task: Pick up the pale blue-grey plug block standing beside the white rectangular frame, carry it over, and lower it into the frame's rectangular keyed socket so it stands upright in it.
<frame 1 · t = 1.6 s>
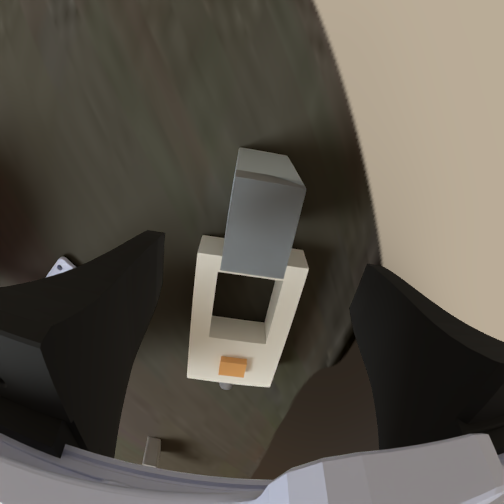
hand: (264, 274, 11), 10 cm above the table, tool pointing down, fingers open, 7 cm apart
plug: (256, 185, 20), on the table
lighter: (154, 447, 37), on the table
white rectangular frame: (239, 310, 25), on the table
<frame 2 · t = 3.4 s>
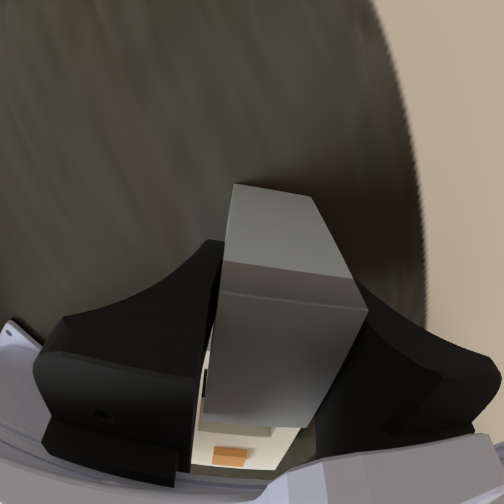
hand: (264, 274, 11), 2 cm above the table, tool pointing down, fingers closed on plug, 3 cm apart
plug: (262, 242, 13), on the table, touching gripper
white rectangular frame: (237, 393, 18), on the table
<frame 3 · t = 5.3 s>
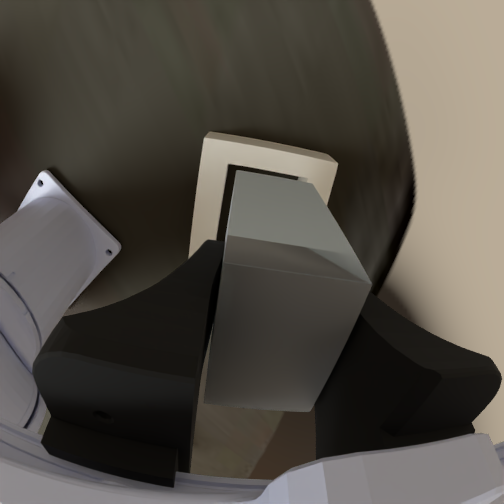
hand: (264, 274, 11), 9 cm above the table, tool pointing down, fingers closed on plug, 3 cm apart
plug: (264, 228, 13), point 7 cm above the table, touching gripper
white rectangular frame: (250, 233, 21), on the table
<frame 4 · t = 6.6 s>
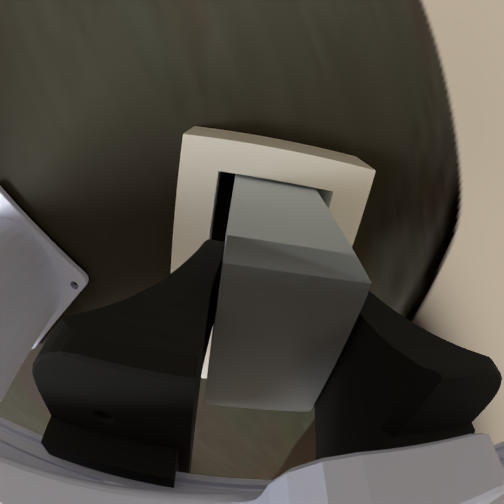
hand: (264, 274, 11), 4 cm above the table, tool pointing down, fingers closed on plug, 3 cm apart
plug: (263, 228, 13), point 1 cm above the table, touching gripper
white rectangular frame: (252, 262, 16), on the table
when the fingers open (4 cm above the table, at t = 7.5 s): plug stays where it is, resting in white rectangular frame.
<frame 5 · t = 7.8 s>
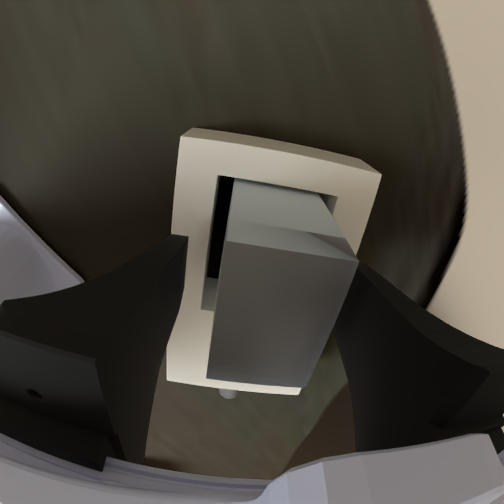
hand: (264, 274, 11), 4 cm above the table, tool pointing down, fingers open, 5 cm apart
plug: (262, 220, 14), resting in white rectangular frame
white rectangular frame: (253, 268, 15), on the table
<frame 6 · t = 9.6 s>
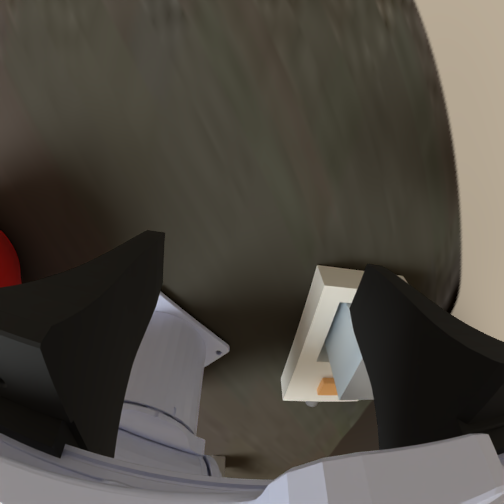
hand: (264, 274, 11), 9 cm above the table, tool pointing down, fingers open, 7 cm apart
plug: (347, 309, 24), resting in white rectangular frame
ceramic cup: (10, 270, 22), on the table
lighter: (215, 464, 37), on the table
white rectangular frame: (338, 333, 25), on the table
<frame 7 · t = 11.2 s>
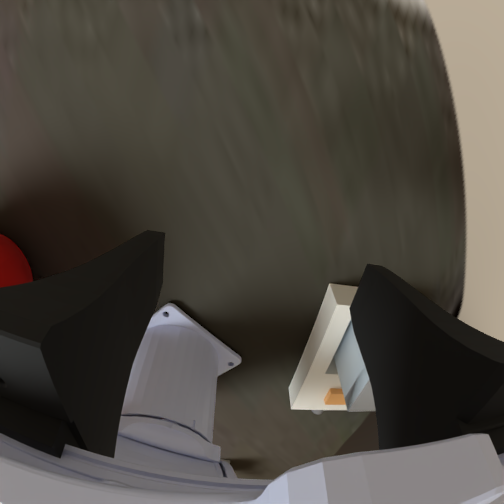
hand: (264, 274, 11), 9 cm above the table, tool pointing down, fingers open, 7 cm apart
plug: (355, 324, 25), resting in white rectangular frame
ceramic cup: (21, 280, 23), on the table
white rectangular frame: (345, 346, 26), on the table
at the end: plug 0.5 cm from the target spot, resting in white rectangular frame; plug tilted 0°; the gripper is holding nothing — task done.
